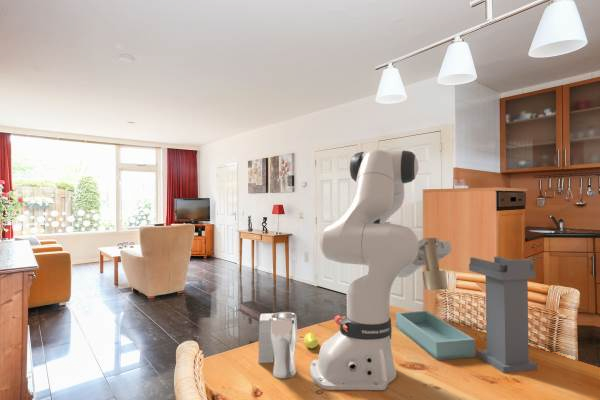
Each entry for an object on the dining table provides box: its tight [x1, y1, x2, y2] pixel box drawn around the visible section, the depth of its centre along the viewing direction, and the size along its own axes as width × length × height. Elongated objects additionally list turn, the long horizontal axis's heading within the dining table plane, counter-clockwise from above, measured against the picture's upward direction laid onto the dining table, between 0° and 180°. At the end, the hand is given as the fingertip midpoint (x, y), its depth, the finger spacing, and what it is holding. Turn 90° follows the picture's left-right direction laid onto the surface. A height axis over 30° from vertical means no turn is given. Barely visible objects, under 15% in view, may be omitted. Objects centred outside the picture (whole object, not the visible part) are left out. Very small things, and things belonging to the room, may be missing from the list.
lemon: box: [303, 331, 319, 349], centre depth 105 cm, size 4×8×4 cm, turn 1°
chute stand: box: [468, 256, 538, 374], centre depth 95 cm, size 10×13×29 cm
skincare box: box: [258, 312, 275, 364], centre depth 97 cm, size 6×4×12 cm
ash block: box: [422, 237, 448, 291], centre depth 113 cm, size 6×17×4 cm
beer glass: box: [271, 311, 298, 380], centre depth 88 cm, size 7×7×15 cm
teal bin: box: [395, 310, 476, 361], centre depth 109 cm, size 12×26×5 cm, turn 9°
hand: (431, 240), depth 114 cm, fingers closed on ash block, 3 cm apart
